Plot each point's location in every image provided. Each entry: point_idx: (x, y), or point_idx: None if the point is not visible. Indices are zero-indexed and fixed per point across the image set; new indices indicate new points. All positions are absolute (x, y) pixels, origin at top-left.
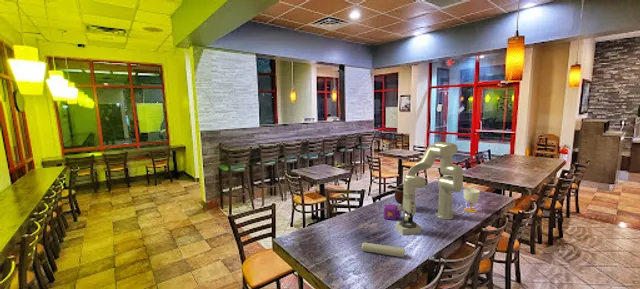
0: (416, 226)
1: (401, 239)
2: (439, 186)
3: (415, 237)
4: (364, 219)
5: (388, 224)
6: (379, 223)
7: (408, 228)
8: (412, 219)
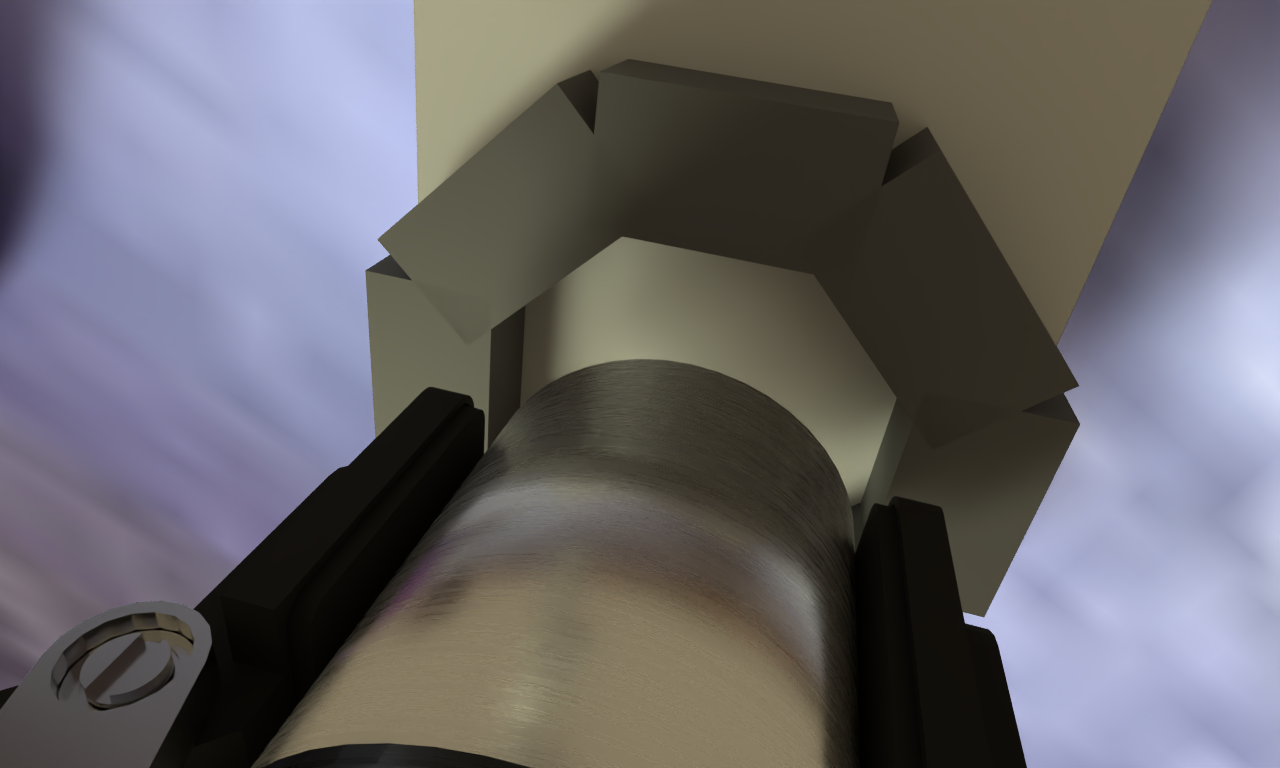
0: (994, 183)
1: (1040, 755)
2: None
3: (1229, 438)
4: (6, 678)
5: (249, 487)
6: (183, 596)
7: None
8: (956, 635)
